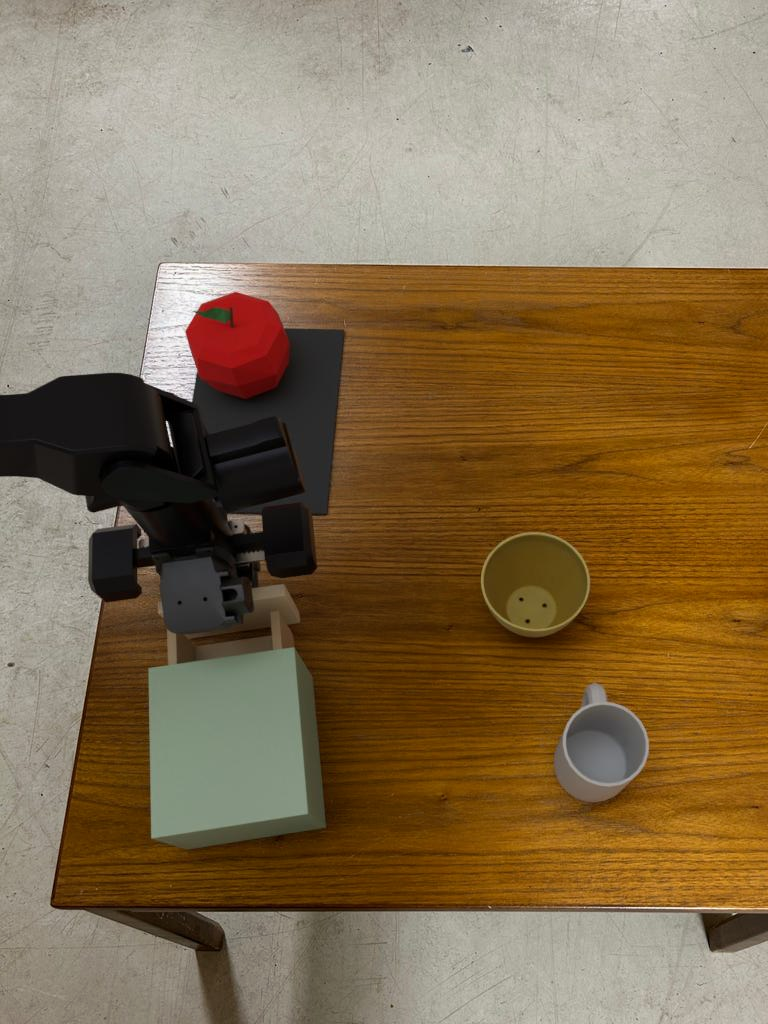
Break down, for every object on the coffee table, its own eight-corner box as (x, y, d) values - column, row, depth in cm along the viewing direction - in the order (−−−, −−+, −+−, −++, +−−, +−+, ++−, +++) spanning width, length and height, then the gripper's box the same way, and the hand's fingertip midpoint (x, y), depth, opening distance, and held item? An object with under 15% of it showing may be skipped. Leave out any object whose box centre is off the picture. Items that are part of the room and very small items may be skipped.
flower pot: (469, 576, 82) (469, 544, 75) (564, 555, 83) (572, 521, 76) (494, 667, 79) (496, 642, 72) (592, 643, 80) (604, 616, 73)
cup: (555, 805, 74) (565, 788, 66) (548, 700, 78) (557, 671, 69) (633, 802, 74) (653, 785, 66) (622, 698, 78) (640, 669, 69)
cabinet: (181, 695, 77) (148, 667, 69) (312, 676, 78) (294, 646, 70) (186, 849, 72) (150, 838, 64) (326, 827, 73) (308, 814, 65)
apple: (298, 332, 92) (278, 263, 83) (297, 409, 88) (276, 347, 79) (205, 336, 92) (174, 267, 82) (199, 414, 88) (167, 351, 79)
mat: (174, 512, 84) (173, 510, 84) (205, 328, 93) (204, 326, 92) (327, 515, 84) (326, 513, 84) (344, 331, 93) (343, 329, 92)
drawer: (181, 588, 80) (156, 558, 74) (295, 572, 81) (280, 541, 75) (187, 762, 74) (160, 746, 68) (310, 744, 75) (295, 726, 69)
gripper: (49, 621, 59) (134, 684, 74) (302, 586, 60) (337, 655, 75) (53, 490, 63) (133, 575, 78) (292, 460, 64) (326, 548, 79)
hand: (232, 590), depth 77 cm, fingers closed, pressing on drawer
